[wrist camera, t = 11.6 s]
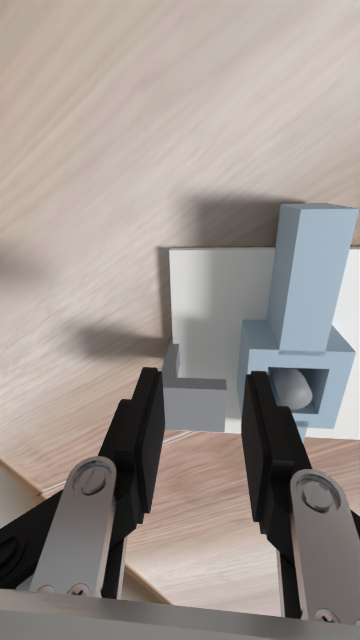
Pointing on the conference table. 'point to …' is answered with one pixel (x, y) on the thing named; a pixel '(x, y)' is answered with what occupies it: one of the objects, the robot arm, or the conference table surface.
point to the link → (305, 311)
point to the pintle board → (225, 334)
